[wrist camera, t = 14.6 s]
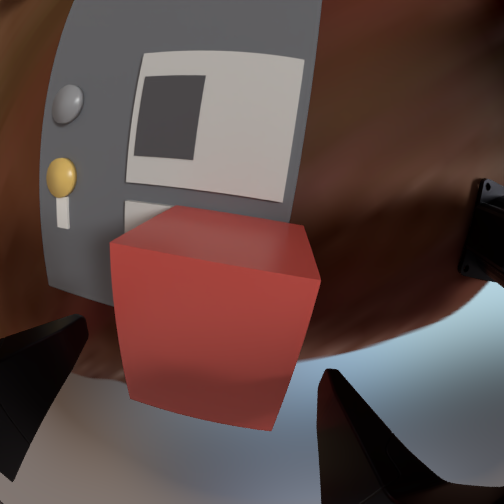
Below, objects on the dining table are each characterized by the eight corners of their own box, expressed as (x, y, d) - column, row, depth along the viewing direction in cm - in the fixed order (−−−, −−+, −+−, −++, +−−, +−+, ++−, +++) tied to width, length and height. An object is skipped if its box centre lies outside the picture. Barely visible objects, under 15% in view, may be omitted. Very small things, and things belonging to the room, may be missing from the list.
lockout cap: (303, 225, 13) (321, 280, 7) (275, 346, 15) (271, 431, 10) (176, 205, 13) (109, 242, 8) (171, 326, 16) (130, 398, 10)
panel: (321, -20, 10) (325, -37, 8) (266, 326, 17) (264, 345, 15) (89, -4, 10) (75, -13, 8) (60, 277, 18) (45, 288, 16)
